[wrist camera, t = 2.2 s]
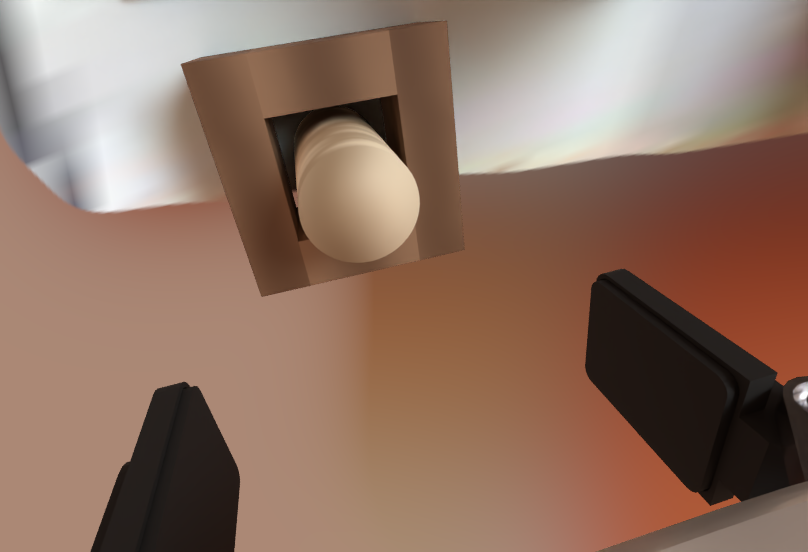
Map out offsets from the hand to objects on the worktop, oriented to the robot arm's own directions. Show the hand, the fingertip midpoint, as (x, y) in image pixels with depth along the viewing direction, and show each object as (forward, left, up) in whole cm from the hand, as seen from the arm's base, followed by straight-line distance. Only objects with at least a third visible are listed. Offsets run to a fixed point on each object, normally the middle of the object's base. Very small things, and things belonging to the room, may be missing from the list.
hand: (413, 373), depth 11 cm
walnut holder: (0, 0, -23) cm, 23 cm away
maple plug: (0, 0, -23) cm, 23 cm away
